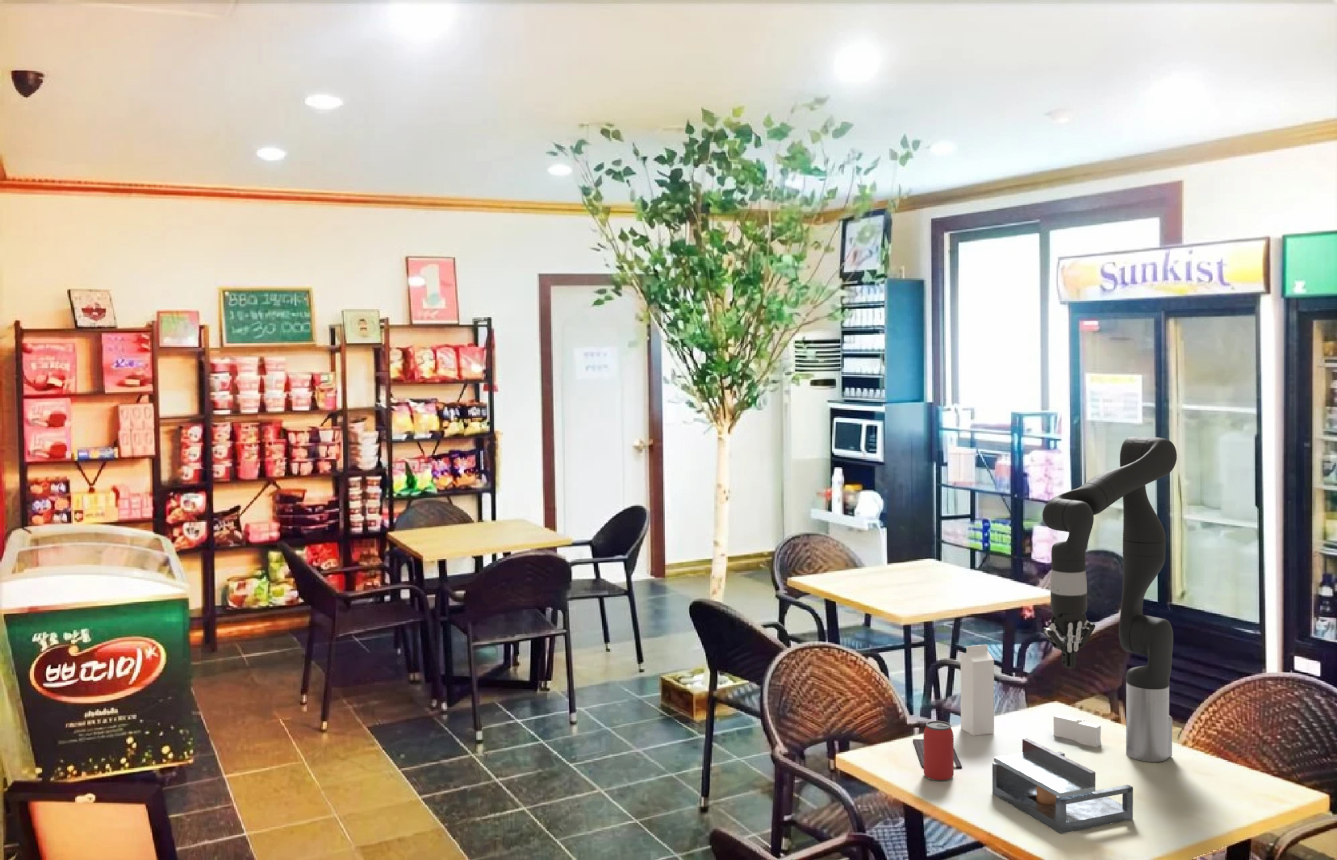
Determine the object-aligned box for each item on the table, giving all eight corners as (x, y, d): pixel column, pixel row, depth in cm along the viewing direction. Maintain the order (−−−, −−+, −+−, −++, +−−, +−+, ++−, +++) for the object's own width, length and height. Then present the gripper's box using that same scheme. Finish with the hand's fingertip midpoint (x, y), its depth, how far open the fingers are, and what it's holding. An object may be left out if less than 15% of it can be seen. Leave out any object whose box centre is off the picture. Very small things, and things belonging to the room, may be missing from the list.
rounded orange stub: (1048, 804, 235) (1048, 776, 235) (1060, 811, 231) (1060, 783, 231) (1032, 807, 234) (1032, 779, 233) (1045, 814, 230) (1045, 786, 229)
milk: (994, 733, 279) (994, 647, 277) (972, 736, 277) (973, 649, 276) (981, 726, 285) (981, 641, 283) (960, 728, 283) (960, 643, 281)
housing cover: (1026, 756, 243) (1026, 738, 243) (1095, 791, 223) (1095, 772, 223) (993, 761, 240) (993, 743, 240) (1060, 798, 220) (1060, 778, 220)
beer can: (954, 782, 247) (954, 730, 247) (924, 781, 249) (923, 728, 248) (952, 772, 254) (952, 720, 253) (923, 770, 255) (923, 719, 254)
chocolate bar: (950, 739, 274) (962, 766, 256) (950, 743, 274) (962, 770, 256) (913, 739, 274) (922, 766, 257) (913, 743, 275) (922, 770, 257)
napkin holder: (1041, 734, 279) (1041, 711, 279) (1084, 731, 280) (1084, 709, 280) (1069, 755, 264) (1069, 731, 264) (1114, 752, 266) (1114, 728, 265)
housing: (1060, 781, 247) (1060, 751, 246) (1132, 819, 226) (1133, 787, 226) (992, 794, 241) (992, 763, 240) (1060, 834, 220) (1060, 800, 220)
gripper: (1055, 597, 237) (1056, 676, 238) (1105, 590, 241) (1105, 668, 243) (1032, 590, 244) (1033, 667, 245) (1081, 583, 248) (1081, 659, 250)
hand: (1069, 667), depth 244 cm, fingers closed
